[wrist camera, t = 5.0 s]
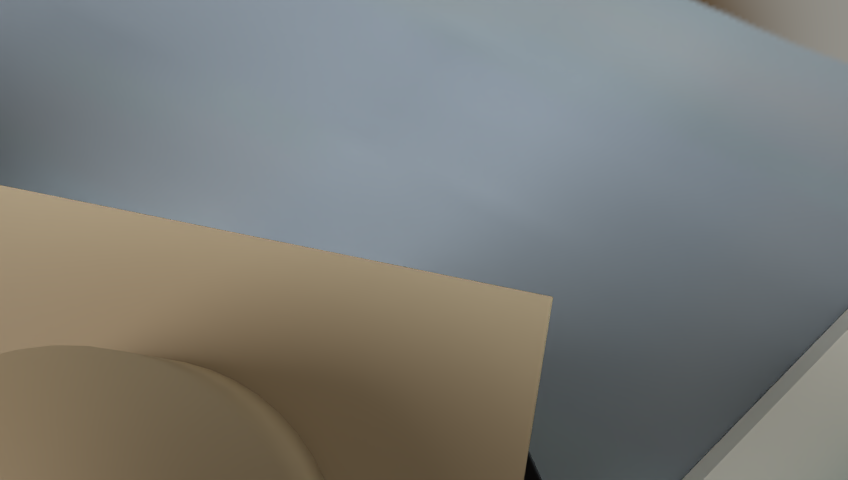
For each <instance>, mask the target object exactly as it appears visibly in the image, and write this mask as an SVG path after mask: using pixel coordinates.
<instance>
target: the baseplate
mask: <svg viewBox="0 0 848 480" xmlns="http://www.w3.org/2000/svg"><path fill="white" fill-rule="evenodd" d="M682 480H848V309H847V310H846V311H845V312H844V313H843V314H842V315H841V316H840V317H839V318H838V319H837V320H836V321H835V322H834V323H833V324H832V325H831V327H830V328H829V329H828V330H827V331H826V332H825V333H824V334H823V335H822V336H821V337H820V338H819V339H818V340H817V341H816V342H815V343H814V344H813V345H812V346H811V347H810V348H809V349H808V350H807V351H806V352H805V353H804V354H803V355H802V356H801V357H800V358H799V359H798V360H797V362H796V363H795V364H794V365H793V366H792V367H791V368H790V369H789V370H788V371H787V372H786V373H785V374H784V375H783V376H782V377H781V378H780V379H779V380H778V381H777V382H776V383H775V384H774V385H773V386H772V387H771V388H770V389H769V390H768V391H767V392H766V393H765V394H764V395H763V397H762V398H761V399H760V400H759V401H758V402H757V403H756V404H755V405H754V406H753V407H752V408H751V409H750V410H749V411H748V412H747V413H746V414H745V415H744V416H743V417H742V418H741V419H740V420H739V421H738V422H737V423H736V424H735V425H734V426H733V427H732V428H731V429H730V430H729V432H728V433H727V434H726V435H725V436H724V437H723V438H722V439H721V440H720V441H719V442H718V443H717V444H716V445H715V446H714V447H713V448H712V449H711V450H710V451H709V452H708V453H707V454H706V455H705V456H704V457H703V458H702V459H701V460H700V461H699V462H698V463H697V464H696V465H695V467H694V468H693V469H692V470H691V471H690V472H689V473H688V474H687V475H686V476H685V477H684V478H683V479H682Z"/></svg>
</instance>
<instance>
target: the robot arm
mask: <svg viewBox="0 0 848 480" xmlns="http://www.w3.org/2000/svg"><path fill="white" fill-rule="evenodd" d="M524 480H542V479H541V477H540V475H539V473H538V470H537V468H536V466H535V464H534V462H533V459H532V457H531V455H530V453H529V450H528V457H527V463H526V469H525V475H524Z"/></svg>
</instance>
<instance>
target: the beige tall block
mask: <svg viewBox="0 0 848 480" xmlns="http://www.w3.org/2000/svg"><path fill="white" fill-rule="evenodd" d="M552 301H553V297H551V296H546V295H541V294H536V293H531V292H526V291H521V290H516V289H511V288H506V287H501V286H496V285H491V284H486V283H481V282H477V281H472V280H467V279H462V278H457V277H452V276H447V275H442V274H437V273H432V272H427V271H422V270H417V269H412V268H407V267H402V266H397V265H393V264H388V263H383V262H378V261H373V260H368V259H363V258H358V257H353V256H348V255H343V254H338V253H333V252H328V251H323V250H318V249H313V248H308V247H304V246H299V245H294V244H289V243H284V242H279V241H274V240H269V239H264V238H259V237H254V236H249V235H244V234H239V233H234V232H229V231H224V230H219V229H215V228H210V227H205V226H200V225H195V224H190V223H185V222H180V221H175V220H170V219H165V218H160V217H155V216H150V215H145V214H140V213H135V212H131V211H126V210H121V209H116V208H111V207H106V206H101V205H96V204H91V203H86V202H81V201H76V200H71V199H66V198H61V197H56V196H51V195H46V194H42V193H37V192H32V191H27V190H22V189H17V188H12V187H7V186H2V185H0V480H524V475H525V469H526V463H527V457H528V450H529V444H530V438H531V432H532V425H533V419H534V413H535V407H536V400H537V394H538V388H539V382H540V375H541V369H542V363H543V357H544V350H545V344H546V338H547V332H548V326H549V319H550V313H551V307H552Z"/></svg>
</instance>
